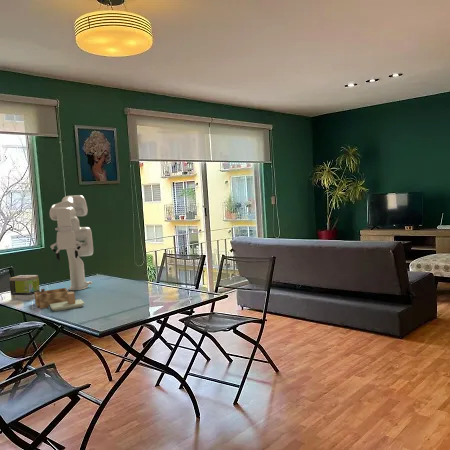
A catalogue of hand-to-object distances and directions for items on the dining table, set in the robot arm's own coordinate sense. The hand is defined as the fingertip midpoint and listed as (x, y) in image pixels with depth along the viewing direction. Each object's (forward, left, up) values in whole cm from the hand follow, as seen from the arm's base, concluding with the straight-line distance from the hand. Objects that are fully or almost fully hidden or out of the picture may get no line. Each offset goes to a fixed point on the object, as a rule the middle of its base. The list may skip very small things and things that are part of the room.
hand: (67, 258), depth 258 cm
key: (+14, -4, -20) cm, 25 cm away
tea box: (+22, -42, -28) cm, 55 cm away
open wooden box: (+9, -15, -28) cm, 33 cm away
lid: (+2, 0, -28) cm, 29 cm away
